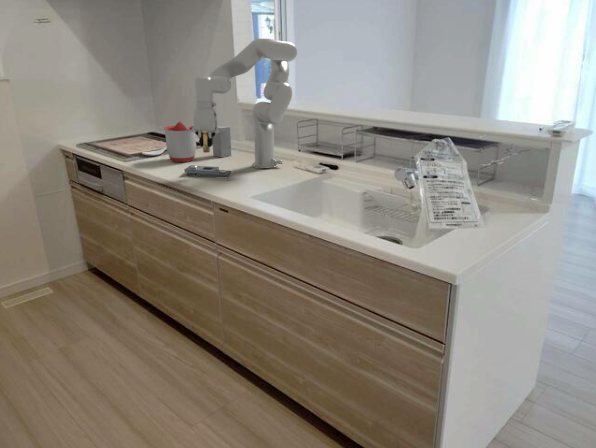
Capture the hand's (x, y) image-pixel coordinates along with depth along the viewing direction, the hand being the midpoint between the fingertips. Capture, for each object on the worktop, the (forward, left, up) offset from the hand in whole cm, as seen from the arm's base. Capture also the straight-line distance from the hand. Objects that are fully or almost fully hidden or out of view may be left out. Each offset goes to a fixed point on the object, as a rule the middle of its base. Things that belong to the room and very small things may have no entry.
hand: (206, 146), depth 224 cm
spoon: (+37, -42, -14) cm, 58 cm away
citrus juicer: (+23, -27, -14) cm, 38 cm away
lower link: (-3, 0, -14) cm, 14 cm away
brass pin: (0, 0, -3) cm, 3 cm away
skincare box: (+6, -41, -14) cm, 44 cm away
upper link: (+3, 0, -14) cm, 14 cm away
